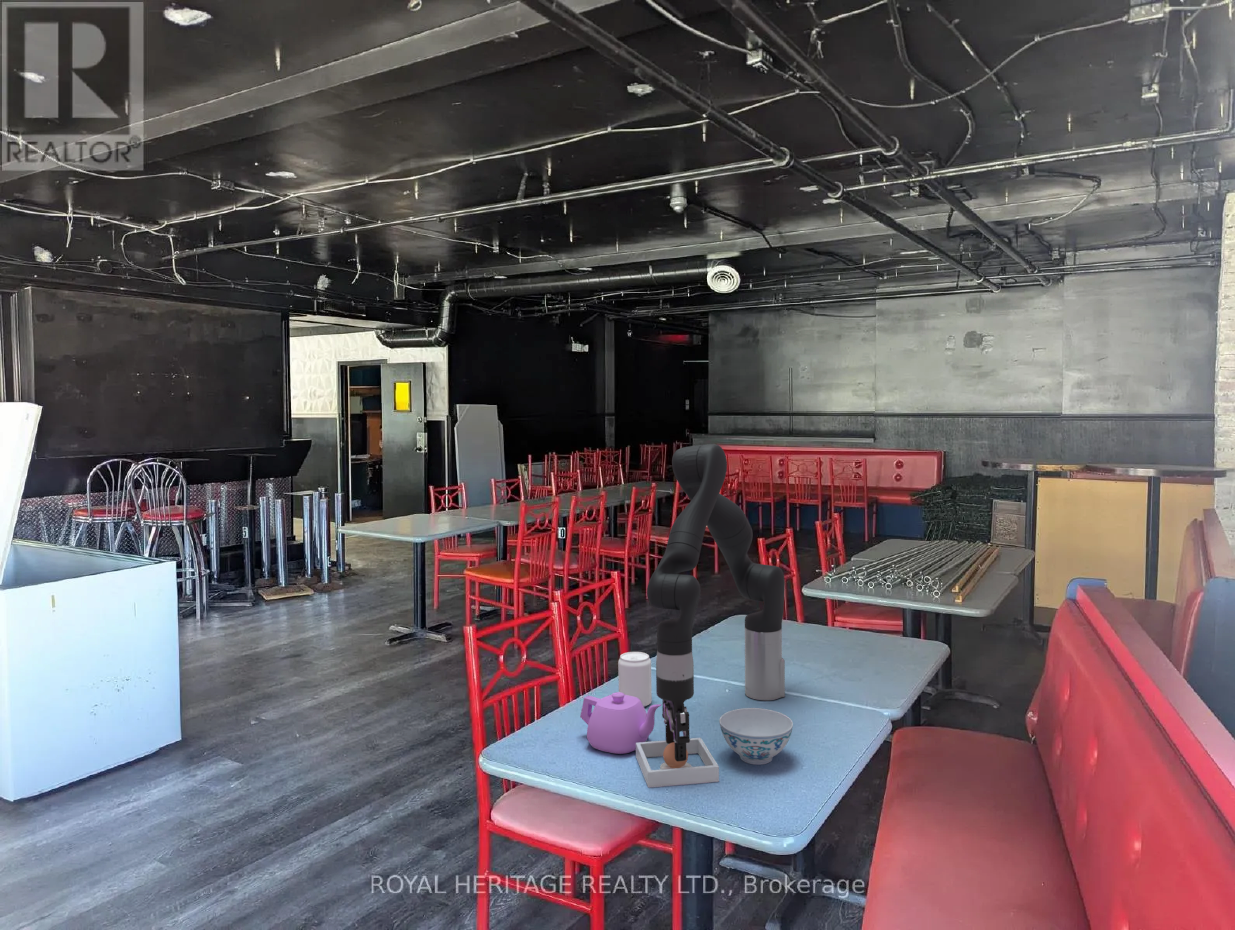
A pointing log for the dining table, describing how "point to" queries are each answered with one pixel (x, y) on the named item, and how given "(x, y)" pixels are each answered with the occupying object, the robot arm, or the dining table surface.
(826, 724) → the dining table surface
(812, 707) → the dining table surface
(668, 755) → the ball
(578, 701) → the dining table surface
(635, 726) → the teapot
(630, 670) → the beverage can
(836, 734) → the dining table surface
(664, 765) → the disc
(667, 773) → the grey square frame
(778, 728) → the chinaware
